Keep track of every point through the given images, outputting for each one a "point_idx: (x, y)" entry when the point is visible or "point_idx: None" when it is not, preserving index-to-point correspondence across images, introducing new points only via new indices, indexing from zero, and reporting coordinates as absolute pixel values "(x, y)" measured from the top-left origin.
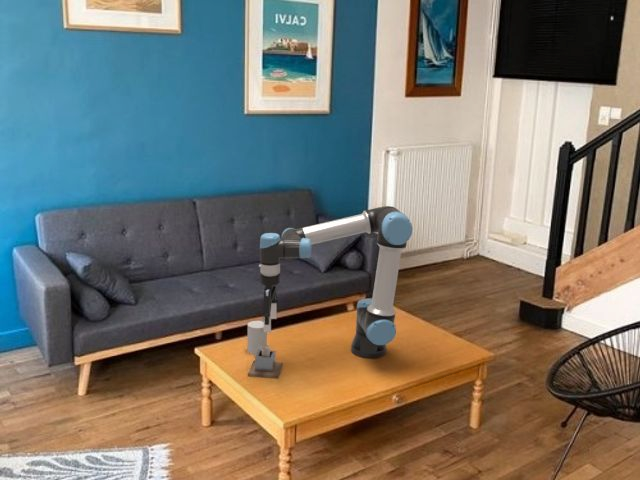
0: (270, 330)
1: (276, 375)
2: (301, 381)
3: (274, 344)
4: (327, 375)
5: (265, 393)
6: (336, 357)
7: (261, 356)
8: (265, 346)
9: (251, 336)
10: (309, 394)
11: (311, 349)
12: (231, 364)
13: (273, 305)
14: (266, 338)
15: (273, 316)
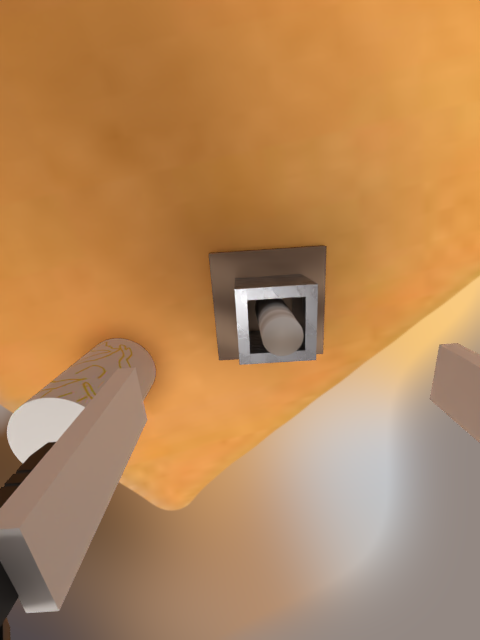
0: (470, 351)
1: (324, 252)
2: (333, 144)
3: (45, 325)
4: (258, 22)
5: (438, 262)
6: (51, 4)
7: (307, 335)
8: (278, 340)
9: None
10: (445, 81)
11: (20, 162)
12: (247, 414)
13: (61, 524)
14: (92, 361)
15: (131, 403)
